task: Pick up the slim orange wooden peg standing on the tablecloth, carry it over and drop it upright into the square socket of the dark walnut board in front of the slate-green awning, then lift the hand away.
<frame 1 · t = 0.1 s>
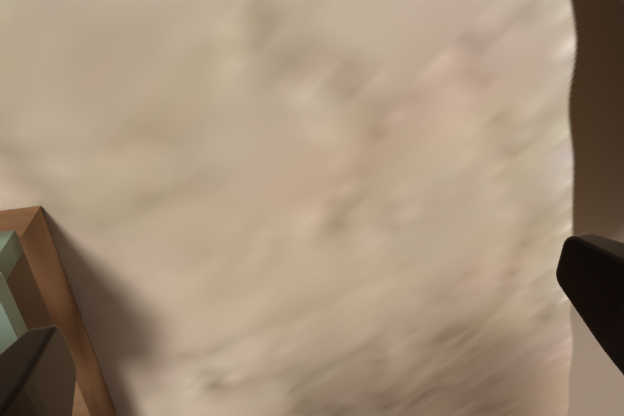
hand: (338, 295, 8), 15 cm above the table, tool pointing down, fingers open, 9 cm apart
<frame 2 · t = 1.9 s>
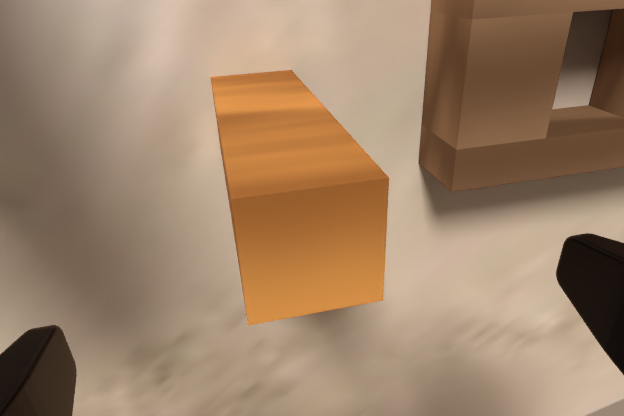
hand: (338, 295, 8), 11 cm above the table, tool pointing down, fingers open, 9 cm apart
peg: (255, 113, 18), on the table
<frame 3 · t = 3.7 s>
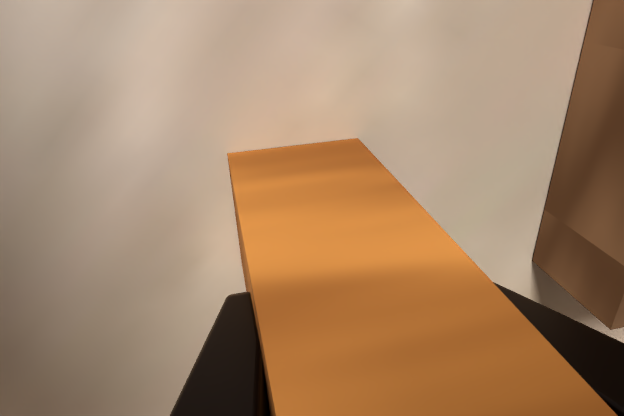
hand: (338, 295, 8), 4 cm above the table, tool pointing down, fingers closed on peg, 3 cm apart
peg: (297, 204, 11), on the table, touching gripper
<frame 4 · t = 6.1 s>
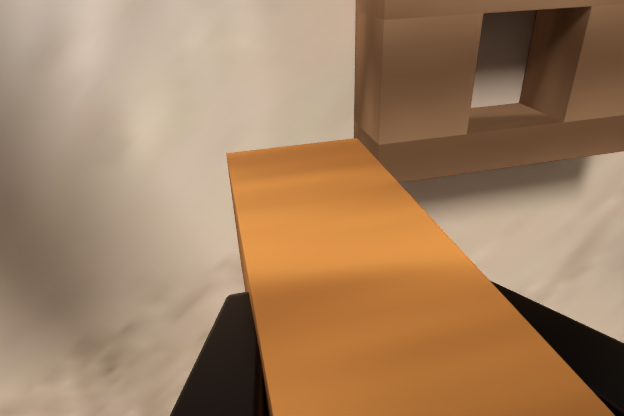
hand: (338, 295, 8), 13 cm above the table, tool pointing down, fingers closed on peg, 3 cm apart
peg: (296, 204, 11), point 9 cm above the table, touching gripper
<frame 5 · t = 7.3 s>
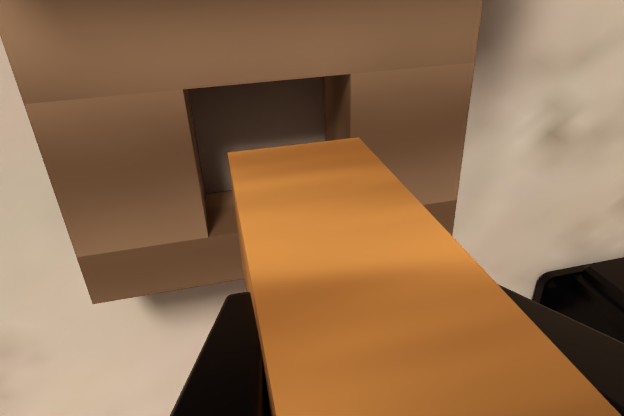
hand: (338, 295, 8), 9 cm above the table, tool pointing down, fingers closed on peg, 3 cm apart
socket board: (250, 0, 14), on the table
peg: (298, 203, 11), point 6 cm above the table, touching gripper
when the fingers open (5 cm above the table, at t = 8.4 s): peg drops 2 cm, resting in socket board.
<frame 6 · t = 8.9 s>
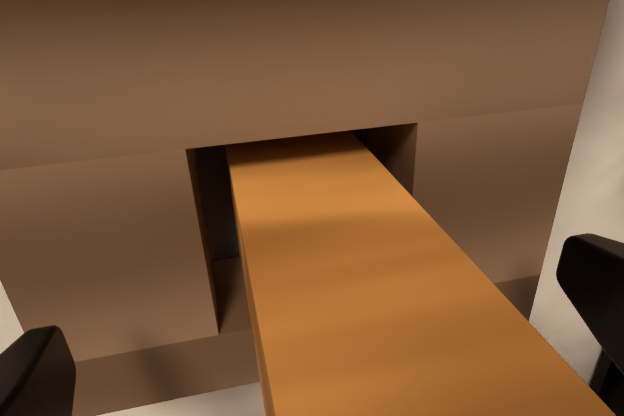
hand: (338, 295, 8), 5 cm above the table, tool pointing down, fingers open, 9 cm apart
socket board: (275, 18, 10), on the table
peg: (286, 178, 12), resting in socket board
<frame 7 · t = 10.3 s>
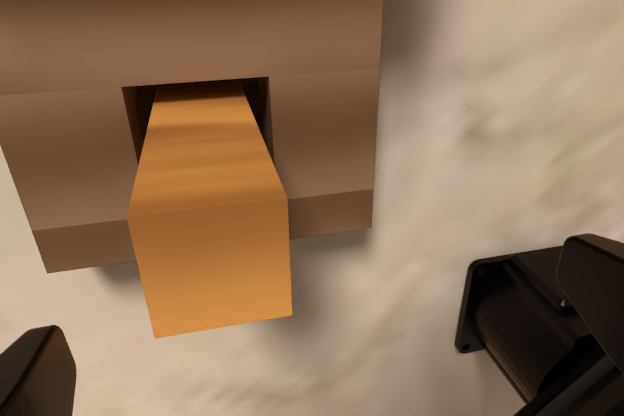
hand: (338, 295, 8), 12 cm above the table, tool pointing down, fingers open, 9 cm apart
socket board: (188, 10, 16), on the table
peg: (203, 122, 18), resting in socket board
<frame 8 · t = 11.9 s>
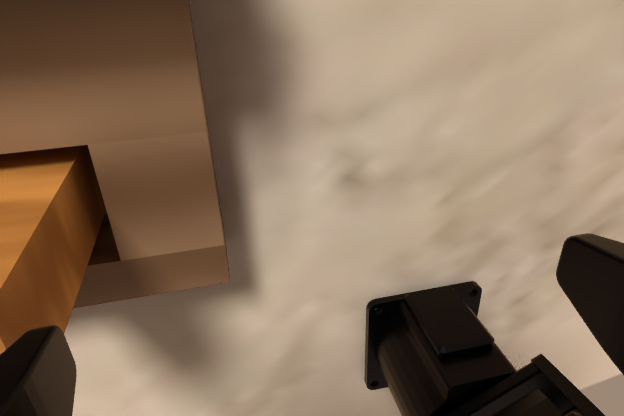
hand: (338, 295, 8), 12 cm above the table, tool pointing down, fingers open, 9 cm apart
socket board: (21, 75, 16), on the table
peg: (56, 179, 18), resting in socket board
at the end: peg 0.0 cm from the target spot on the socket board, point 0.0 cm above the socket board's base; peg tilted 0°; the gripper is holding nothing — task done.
